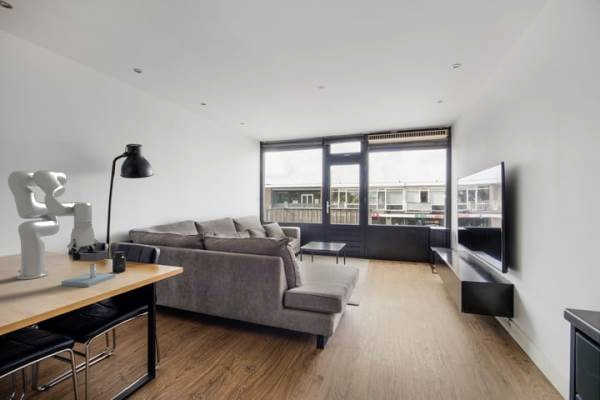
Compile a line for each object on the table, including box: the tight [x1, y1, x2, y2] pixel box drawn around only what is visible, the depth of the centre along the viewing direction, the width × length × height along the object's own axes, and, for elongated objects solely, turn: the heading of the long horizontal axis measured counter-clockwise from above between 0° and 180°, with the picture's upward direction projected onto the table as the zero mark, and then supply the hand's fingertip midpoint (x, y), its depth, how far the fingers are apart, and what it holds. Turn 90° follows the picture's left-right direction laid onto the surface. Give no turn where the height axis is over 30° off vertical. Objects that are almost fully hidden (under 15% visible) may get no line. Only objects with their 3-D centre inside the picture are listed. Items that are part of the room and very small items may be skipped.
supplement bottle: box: [111, 251, 127, 274], centre depth 160 cm, size 7×7×12 cm
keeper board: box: [61, 263, 117, 288], centre depth 142 cm, size 16×16×9 cm
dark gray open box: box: [72, 250, 110, 263], centre depth 142 cm, size 14×8×4 cm, turn 81°
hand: (83, 257), depth 142 cm, fingers closed on dark gray open box, 7 cm apart
